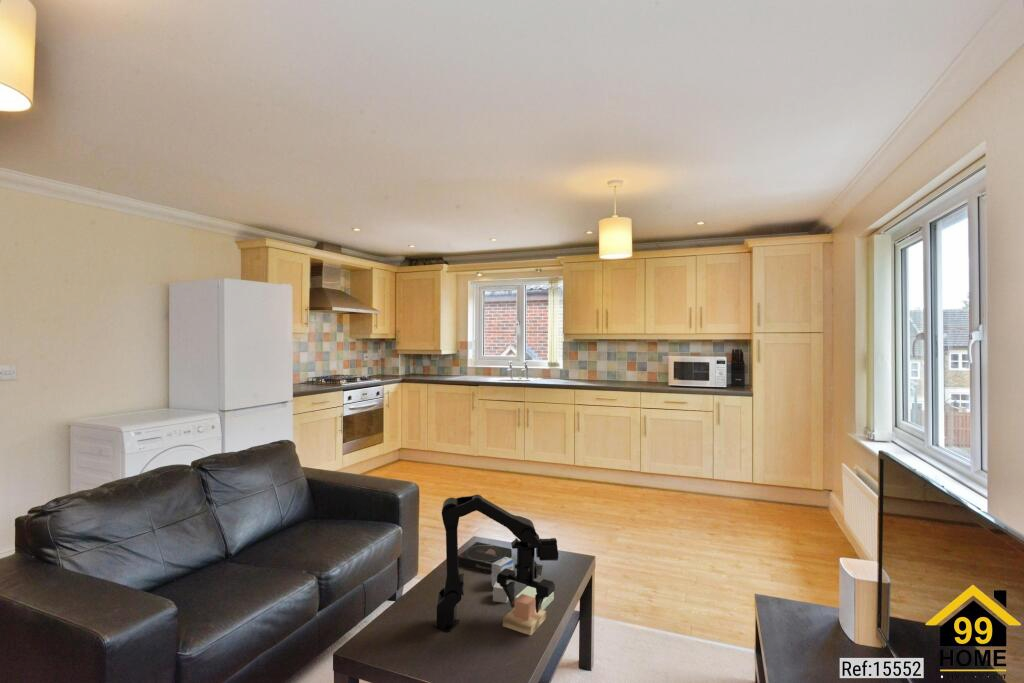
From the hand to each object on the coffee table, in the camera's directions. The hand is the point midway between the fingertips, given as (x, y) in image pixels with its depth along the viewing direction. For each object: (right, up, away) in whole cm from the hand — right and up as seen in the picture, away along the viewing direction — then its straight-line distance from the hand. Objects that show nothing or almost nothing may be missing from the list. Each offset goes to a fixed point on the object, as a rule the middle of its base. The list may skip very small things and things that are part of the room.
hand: (524, 608), depth 163 cm
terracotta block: (0, -2, 0) cm, 2 cm away
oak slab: (0, -5, 0) cm, 4 cm away
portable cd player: (-15, -5, +44) cm, 47 cm away
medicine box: (-8, -5, +25) cm, 27 cm away
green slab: (+4, -4, +13) cm, 14 cm away
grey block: (-8, -4, +15) cm, 17 cm away
